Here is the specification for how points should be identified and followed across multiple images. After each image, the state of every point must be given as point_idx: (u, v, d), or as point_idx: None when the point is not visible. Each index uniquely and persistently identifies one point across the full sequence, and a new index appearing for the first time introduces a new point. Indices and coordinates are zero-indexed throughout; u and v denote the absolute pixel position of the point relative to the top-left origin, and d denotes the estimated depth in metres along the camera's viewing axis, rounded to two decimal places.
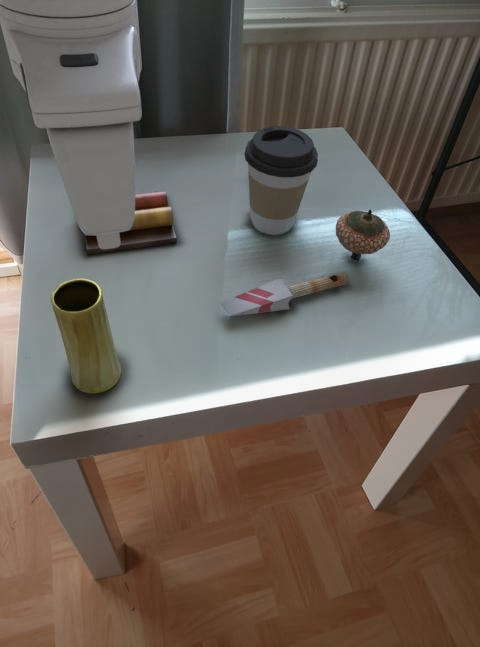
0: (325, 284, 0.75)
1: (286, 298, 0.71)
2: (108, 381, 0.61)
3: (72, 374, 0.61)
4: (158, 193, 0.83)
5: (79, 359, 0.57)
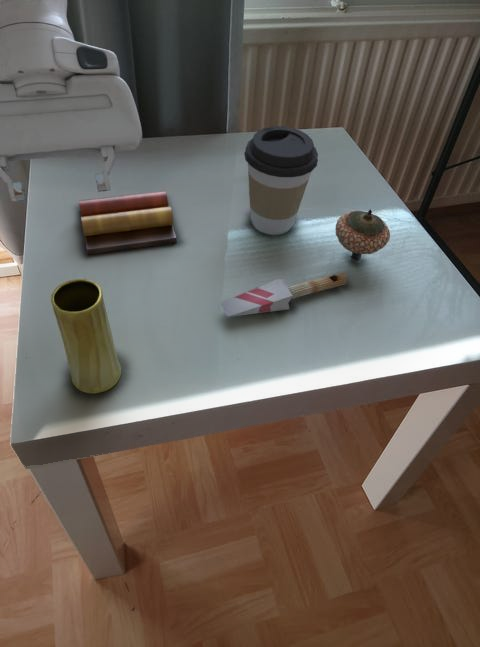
0: (325, 284, 0.75)
1: (286, 298, 0.71)
2: (108, 381, 0.61)
3: (72, 374, 0.61)
4: (158, 193, 0.83)
5: (79, 359, 0.57)
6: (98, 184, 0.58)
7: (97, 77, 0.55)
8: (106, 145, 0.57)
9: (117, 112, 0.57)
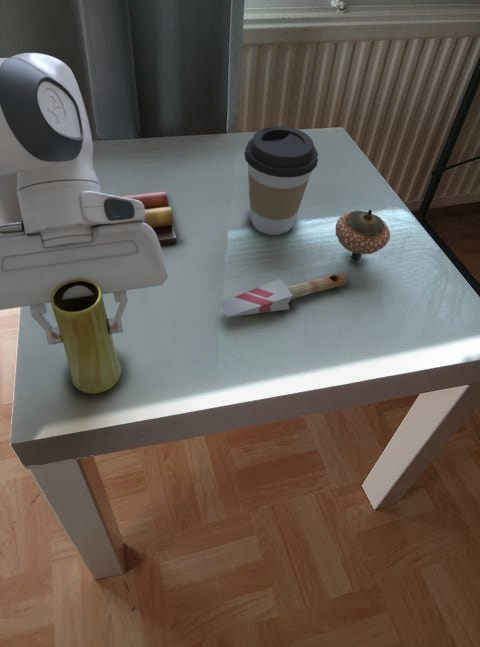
0: (325, 285, 0.75)
1: (286, 298, 0.71)
2: (108, 381, 0.61)
3: (72, 374, 0.61)
4: (158, 193, 0.83)
5: (79, 359, 0.57)
6: (111, 329, 0.57)
7: (124, 226, 0.55)
8: (132, 289, 0.57)
9: (143, 257, 0.57)
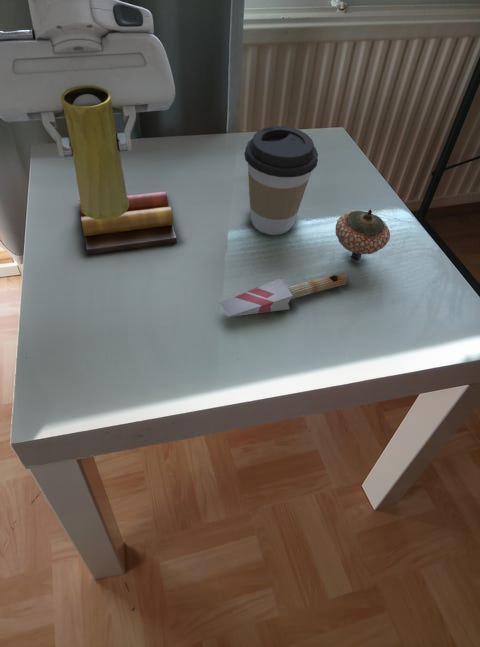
0: (325, 285, 0.75)
1: (286, 298, 0.71)
2: (116, 207, 0.63)
3: (81, 198, 0.62)
4: (158, 193, 0.83)
5: (89, 172, 0.58)
6: (120, 143, 0.58)
7: (133, 35, 0.56)
8: (140, 103, 0.58)
9: (151, 71, 0.58)
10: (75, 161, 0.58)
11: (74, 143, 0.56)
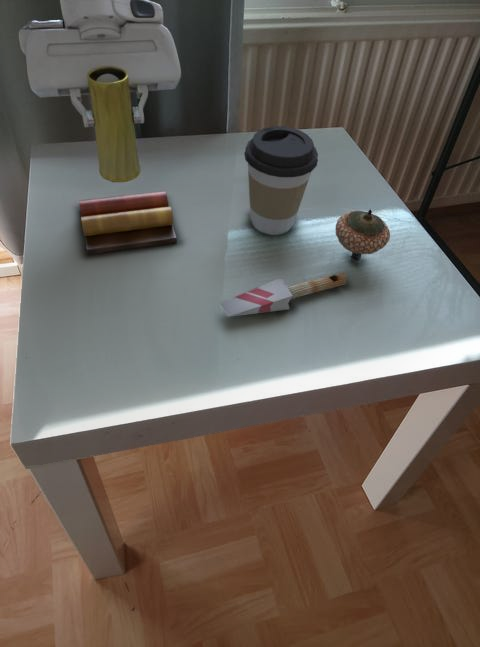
0: (325, 284, 0.75)
1: (286, 298, 0.71)
2: (130, 172, 0.74)
3: (101, 163, 0.73)
4: (158, 193, 0.83)
5: (108, 140, 0.69)
6: (134, 116, 0.69)
7: (146, 25, 0.67)
8: (152, 82, 0.69)
9: (161, 55, 0.69)
10: (97, 130, 0.69)
11: (97, 114, 0.67)
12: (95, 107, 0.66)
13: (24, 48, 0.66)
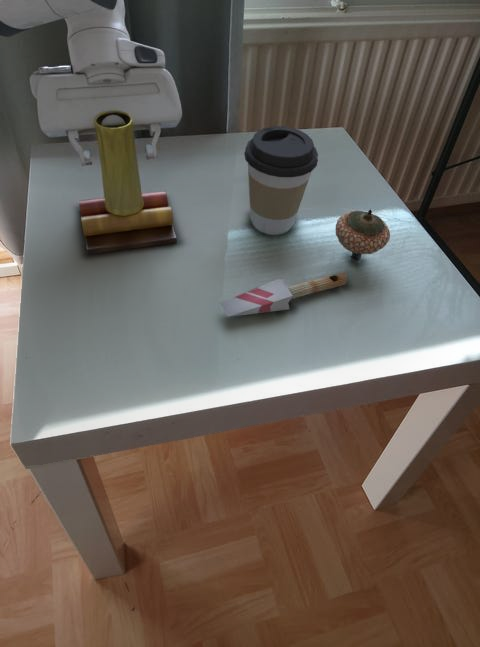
0: (325, 285, 0.75)
1: (286, 298, 0.71)
2: (134, 206, 0.78)
3: (106, 199, 0.77)
4: (158, 193, 0.83)
5: (113, 178, 0.74)
6: (148, 153, 0.74)
7: (149, 70, 0.72)
8: (154, 122, 0.73)
9: (163, 97, 0.73)
10: (103, 169, 0.74)
11: (103, 155, 0.72)
12: (101, 149, 0.71)
13: (35, 92, 0.70)
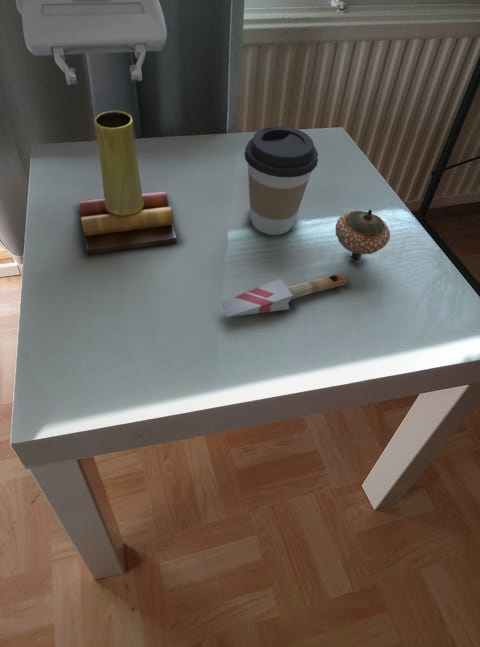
0: (325, 284, 0.75)
1: (286, 298, 0.71)
2: (134, 206, 0.78)
3: (106, 199, 0.77)
4: (158, 193, 0.83)
5: (113, 178, 0.74)
6: (133, 73, 0.75)
7: None
8: (139, 42, 0.74)
9: (148, 17, 0.74)
10: (103, 169, 0.74)
11: (103, 155, 0.72)
12: (101, 149, 0.71)
13: (20, 8, 0.71)
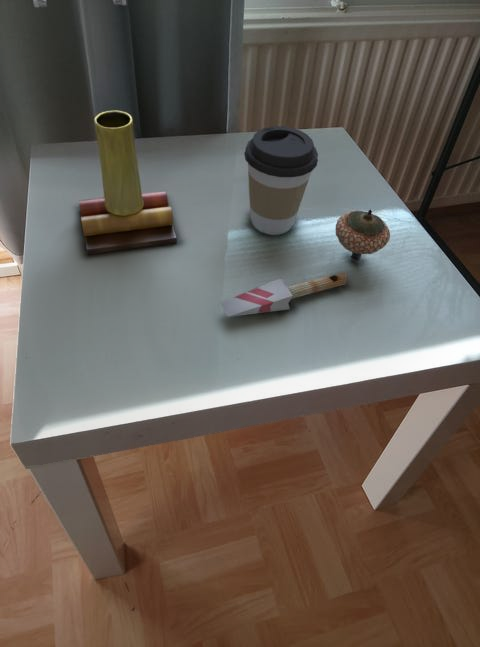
0: (325, 285, 0.75)
1: (286, 298, 0.71)
2: (134, 206, 0.78)
3: (106, 199, 0.77)
4: (158, 193, 0.83)
5: (113, 178, 0.74)
6: (115, 1, 0.62)
7: None
8: None
9: None
10: (103, 169, 0.74)
11: (103, 155, 0.72)
12: (101, 149, 0.71)
13: None
